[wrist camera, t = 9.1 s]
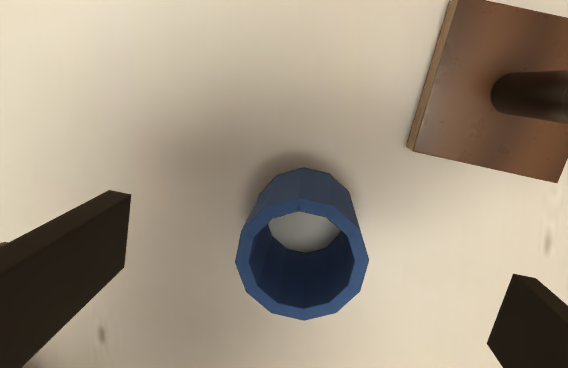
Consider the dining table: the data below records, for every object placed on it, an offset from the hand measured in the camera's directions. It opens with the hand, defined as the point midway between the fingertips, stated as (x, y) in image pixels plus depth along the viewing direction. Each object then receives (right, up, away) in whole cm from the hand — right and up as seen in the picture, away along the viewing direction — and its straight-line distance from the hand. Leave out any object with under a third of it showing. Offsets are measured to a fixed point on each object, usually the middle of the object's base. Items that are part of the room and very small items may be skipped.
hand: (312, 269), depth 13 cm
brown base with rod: (+14, +9, +14) cm, 22 cm away
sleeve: (+1, 0, +17) cm, 17 cm away
